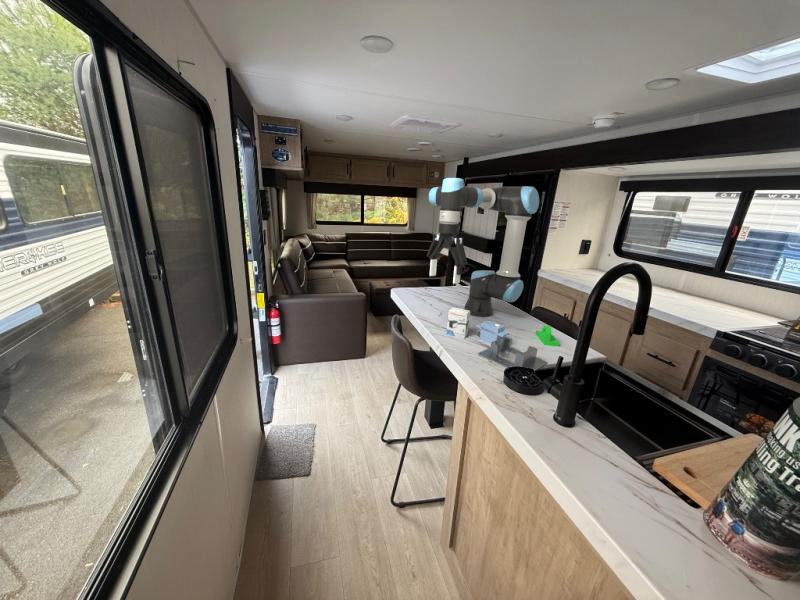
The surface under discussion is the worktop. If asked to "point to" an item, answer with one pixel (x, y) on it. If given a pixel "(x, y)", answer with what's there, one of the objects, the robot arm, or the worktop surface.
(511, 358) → the chassis pocket
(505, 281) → the robot arm
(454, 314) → the ink box
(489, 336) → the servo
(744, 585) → the worktop surface
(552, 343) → the mechanical part
